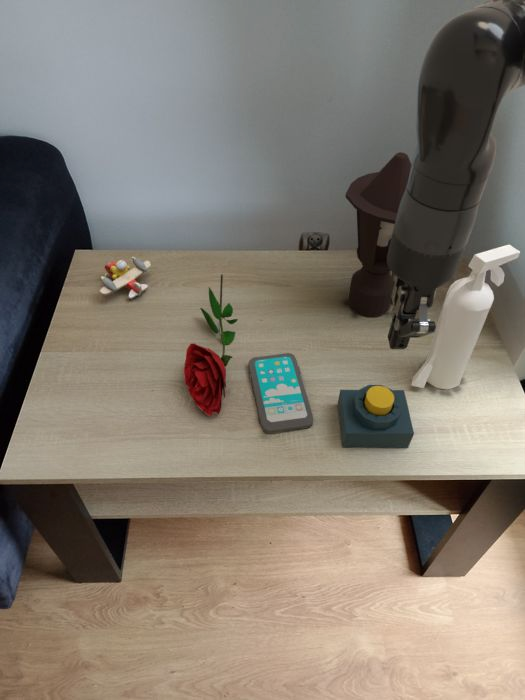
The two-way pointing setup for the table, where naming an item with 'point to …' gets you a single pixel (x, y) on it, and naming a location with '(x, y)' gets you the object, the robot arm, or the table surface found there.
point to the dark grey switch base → (373, 421)
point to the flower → (209, 362)
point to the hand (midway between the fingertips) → (396, 343)
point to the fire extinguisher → (462, 320)
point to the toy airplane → (124, 277)
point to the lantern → (376, 234)
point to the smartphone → (280, 393)
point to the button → (379, 400)
